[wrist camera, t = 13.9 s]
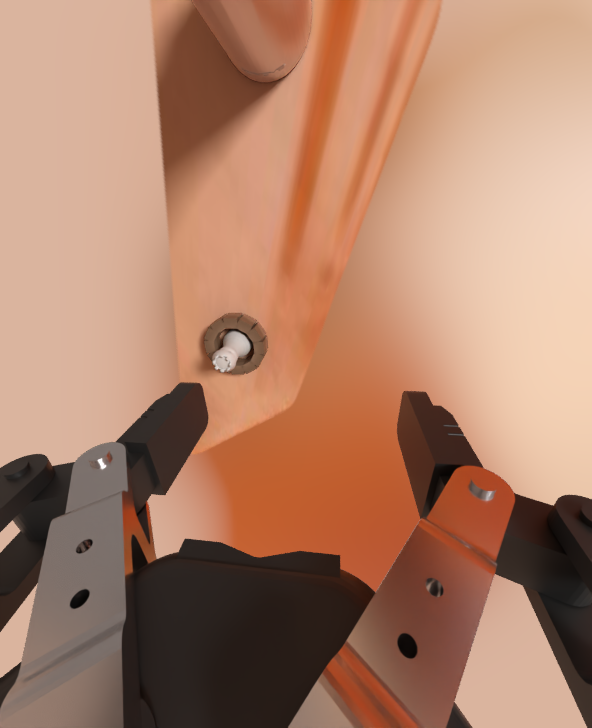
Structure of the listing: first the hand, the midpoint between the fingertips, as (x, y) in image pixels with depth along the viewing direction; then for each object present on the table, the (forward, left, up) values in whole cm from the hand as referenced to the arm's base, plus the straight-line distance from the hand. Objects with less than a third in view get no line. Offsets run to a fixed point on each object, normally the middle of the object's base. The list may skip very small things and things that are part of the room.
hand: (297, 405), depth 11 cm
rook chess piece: (+10, -13, -30) cm, 34 cm away
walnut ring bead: (+10, -13, -30) cm, 34 cm away
